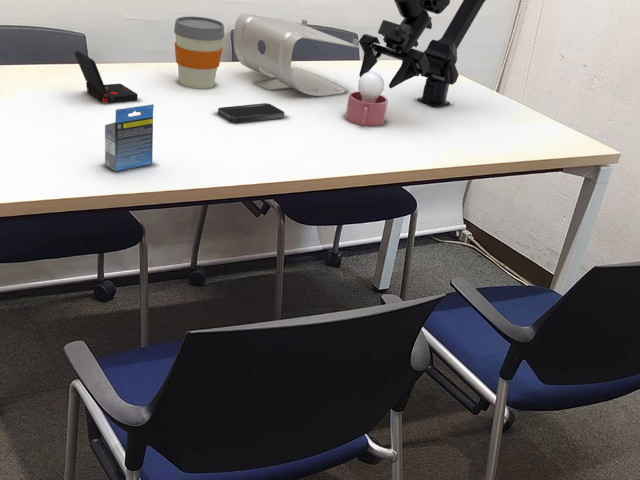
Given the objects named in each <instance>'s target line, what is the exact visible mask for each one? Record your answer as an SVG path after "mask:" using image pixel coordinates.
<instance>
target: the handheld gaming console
mask: <svg viewBox="0 0 640 480" xmlns="http://www.w3.org/2000/svg"><path fill="white" fill-rule="evenodd" d="M74 56H75V59H76V61H77V63H78V66H79V68H80V71H81V73H82V75H83V77H84V81H85V83H86V84H85V85H86V92H87V93H88V95H90V96H91V97H92V98H94V99H96V100H97V101H98V102H100V103H103V104H116V103H117V104H118V103H127V102H128V103H129V102H137V101H138V93H137V92H135V91H134V90H132V89H130V88H129V87H127V86H125V85H124V84H122V83H108V84H104V81H103V78H102V76H101V74H100V72H99V71H100V70H99V69H98V65H97V64H96V62H95V60H94V59H93V58H91V57H89V56H88V55H86V54H84V53H82V52H81V51H79V50H76V51H74Z"/></svg>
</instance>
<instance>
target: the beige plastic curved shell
mask: <svg viewBox="0 0 640 480" xmlns="http://www.w3.org/2000/svg"><path fill="white" fill-rule="evenodd" d="M301 39H305V40H306V39H307V40H312V41H317V42H323V43H329V44H335V45H341V46H346V47H351V48H358V49H360V46H359V45H360V43H359V40H360V39H357V38H353V39H352V43H351V42H349V41H346V40H343V39H341V38H338V37H335V36H334V35H331V34H328V33H326V32H323V31H320V30H318V29H315V28H312V27H311V26H308V20H307V19H302V20H301V23H300V22H297V21H296V22H295V21H291V20H284V19H280V18H279V19H278V18H272V17H269V16H267V17H266V16H262V15H256V14H251V13H242V14H240V15H239V16H238V17H237V18H236V20H235V24H234V28H233V49H234V53H235V57H236V58H237V60H238V62H240V64H241V65H242V66H244V67H246V68H248V69H249V70H252V71H254V72H256V73H258V74H260V75H263V76H265V77H269V78H271V79H263V80H262V79H261V80H256V81H255V84H256V85H257V86H259V87H261V88H263V89H266V90H269V91H277V90H286V89H294V90H296V91H297V92H301V93H303V94H304V95H307V96H313V97H327V96H333V95H340V94H344V93H346V89H345V88H344V87H342V86H340V85H338V84H336V83H335V82H332V81H330V80H328V79H325V78H323V77H321V76H319V75H317V74H313V73H311V72H308V71H305V70H302V69H299V68H296V67H292V59H293V51H294V47H295V45H296V43H297V42H298V41H299V40H301ZM260 41H263V43H264V45H265V51H264V53H261V52H260V50H259V47H258V46H259V42H260Z"/></svg>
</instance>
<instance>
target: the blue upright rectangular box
mask: <svg viewBox="0 0 640 480" xmlns="http://www.w3.org/2000/svg"><path fill="white" fill-rule="evenodd" d="M154 105H155V104H154V103H152V104H146V105H138V106H132V107H124V108H116V109H115V119H114V120H115V121H114V122H112V123H107V124H105V125H104V165H105V167H106V168H108V169H109V170H112V171H113V172H116V173H117V172H121V171H125V170H130V169H135V168H140V167H144V166H151V165H153V155H154V153H153V149H154V148H153V145H154V143H153V142H154V107H155V106H154ZM134 112H135V113H139V114H137V115H130V116H129V114H133V113H134Z"/></svg>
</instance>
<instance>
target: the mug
mask: <svg viewBox="0 0 640 480" xmlns="http://www.w3.org/2000/svg"><path fill="white" fill-rule="evenodd" d="M388 103H389V99H388V98H387V97H386V96H384V95H382V94H381V95H380V96H379V97H378V98H377V99H376V102H375V103H368V102H363V101H362V97H361V94H360V92H359V90H358V91H357V90H356V91H352V92H350V93H349V94H348V97H347V105H346V110H345V119H346V120H347V121H348V122H351V123H353V124H356V125H360V126H365V127H366V126H368V127H378V126H382V125H383V124H384V123H385V120H386V115H387V109H388Z"/></svg>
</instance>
